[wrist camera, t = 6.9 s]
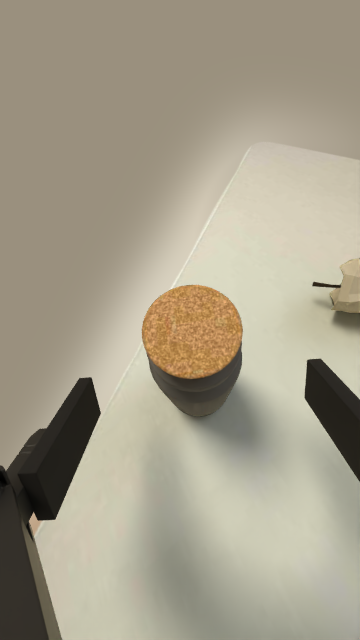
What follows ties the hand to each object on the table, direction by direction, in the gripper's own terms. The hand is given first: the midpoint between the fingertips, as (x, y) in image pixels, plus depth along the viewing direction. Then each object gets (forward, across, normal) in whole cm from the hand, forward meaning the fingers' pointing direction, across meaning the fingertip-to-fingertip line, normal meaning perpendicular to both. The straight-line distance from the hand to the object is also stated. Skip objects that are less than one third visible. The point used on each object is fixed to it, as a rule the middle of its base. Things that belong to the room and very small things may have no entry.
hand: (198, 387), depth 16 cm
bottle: (+8, 0, +6) cm, 10 cm away
